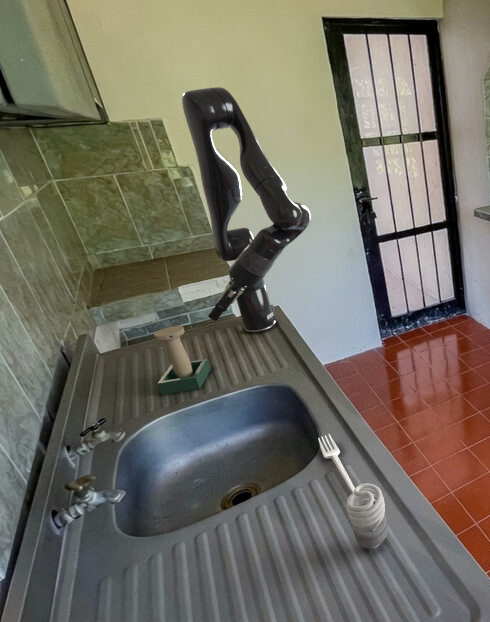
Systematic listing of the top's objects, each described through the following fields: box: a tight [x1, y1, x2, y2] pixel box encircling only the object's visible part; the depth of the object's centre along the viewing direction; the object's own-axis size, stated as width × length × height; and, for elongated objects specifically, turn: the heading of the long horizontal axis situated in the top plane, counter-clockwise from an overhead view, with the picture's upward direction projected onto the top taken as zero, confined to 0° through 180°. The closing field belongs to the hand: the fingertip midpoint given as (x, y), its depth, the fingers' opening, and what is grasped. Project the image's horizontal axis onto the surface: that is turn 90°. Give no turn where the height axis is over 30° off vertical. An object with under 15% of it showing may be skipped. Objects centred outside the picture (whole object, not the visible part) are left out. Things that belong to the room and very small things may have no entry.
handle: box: [153, 325, 193, 378], centre depth 119 cm, size 5×6×15 cm
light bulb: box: [346, 482, 389, 549], centre depth 72 cm, size 6×6×12 cm
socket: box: [156, 358, 212, 395], centre depth 122 cm, size 10×9×4 cm
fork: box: [317, 433, 356, 497], centre depth 91 cm, size 3×20×2 cm, turn 36°
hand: (216, 311), depth 118 cm, fingers open, 8 cm apart
